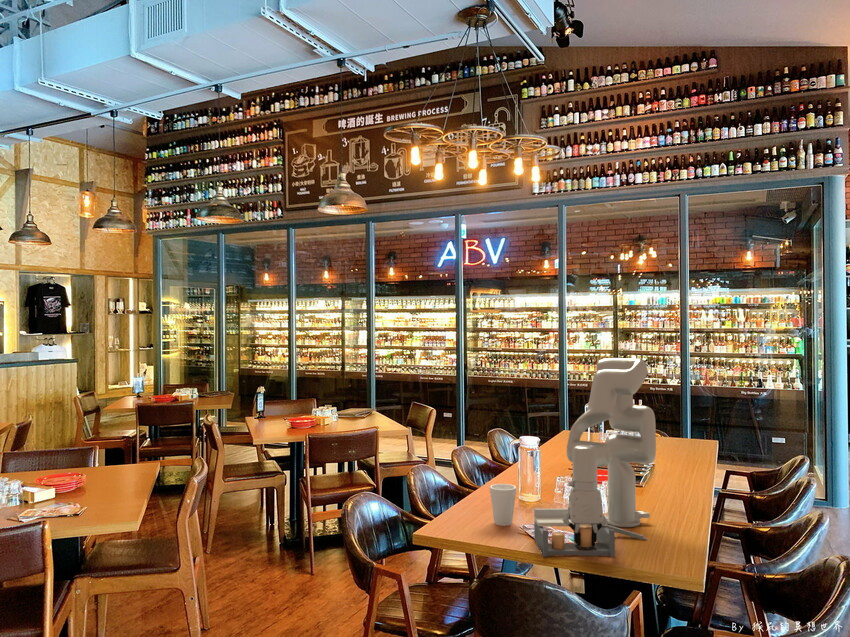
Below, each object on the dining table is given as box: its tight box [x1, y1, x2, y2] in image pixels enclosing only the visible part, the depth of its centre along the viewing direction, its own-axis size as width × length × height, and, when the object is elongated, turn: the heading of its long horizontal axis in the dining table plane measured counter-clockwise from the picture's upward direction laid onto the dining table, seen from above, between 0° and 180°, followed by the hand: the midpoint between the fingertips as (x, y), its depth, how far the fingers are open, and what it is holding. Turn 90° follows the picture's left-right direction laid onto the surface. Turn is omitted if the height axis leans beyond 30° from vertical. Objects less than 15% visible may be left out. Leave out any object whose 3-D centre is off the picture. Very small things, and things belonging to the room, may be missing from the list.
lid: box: [533, 508, 608, 527], centre depth 205 cm, size 22×7×4 cm, turn 90°
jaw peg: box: [579, 525, 592, 547], centre depth 197 cm, size 4×4×6 cm
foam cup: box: [489, 483, 517, 527], centre depth 227 cm, size 10×9×13 cm
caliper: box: [607, 524, 649, 541], centre depth 212 cm, size 20×1×6 cm, turn 67°
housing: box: [533, 520, 616, 558], centre depth 201 cm, size 22×15×8 cm
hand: (585, 543), depth 196 cm, fingers closed on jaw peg, 4 cm apart
